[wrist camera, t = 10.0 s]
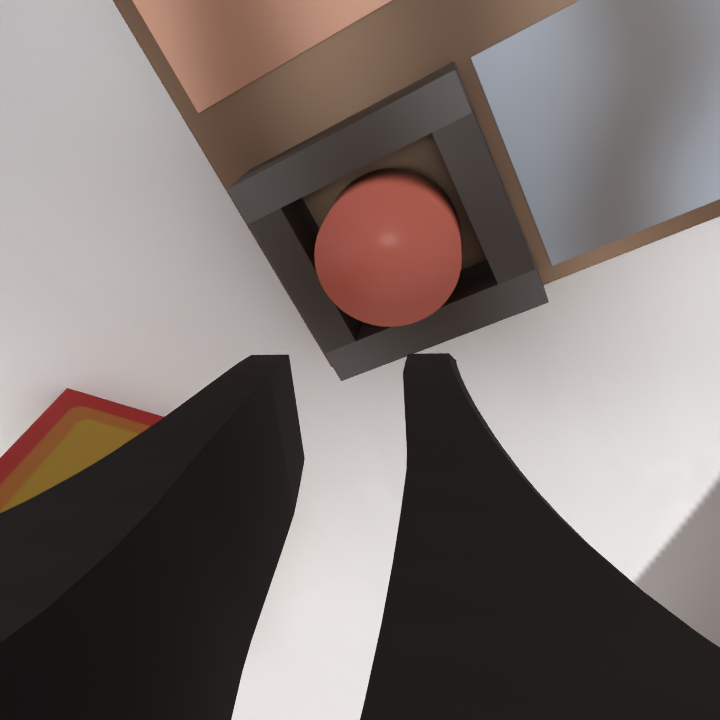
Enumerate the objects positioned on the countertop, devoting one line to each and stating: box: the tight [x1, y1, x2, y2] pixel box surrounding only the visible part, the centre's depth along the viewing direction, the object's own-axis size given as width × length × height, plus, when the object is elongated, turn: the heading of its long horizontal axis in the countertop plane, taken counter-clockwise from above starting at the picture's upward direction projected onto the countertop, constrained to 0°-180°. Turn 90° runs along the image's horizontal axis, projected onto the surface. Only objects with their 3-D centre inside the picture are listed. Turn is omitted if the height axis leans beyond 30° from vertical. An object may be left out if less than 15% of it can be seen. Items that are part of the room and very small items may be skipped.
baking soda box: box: [0, 388, 164, 513], centre depth 20 cm, size 10×6×16 cm
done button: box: [314, 168, 462, 327], centre depth 16 cm, size 4×4×2 cm
